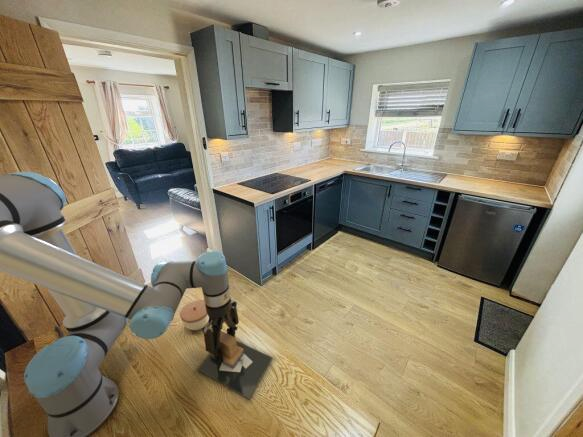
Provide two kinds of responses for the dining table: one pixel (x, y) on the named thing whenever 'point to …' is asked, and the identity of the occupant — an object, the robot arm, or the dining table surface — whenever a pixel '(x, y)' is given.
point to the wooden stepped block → (229, 350)
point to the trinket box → (194, 315)
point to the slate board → (239, 371)
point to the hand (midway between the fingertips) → (225, 350)
